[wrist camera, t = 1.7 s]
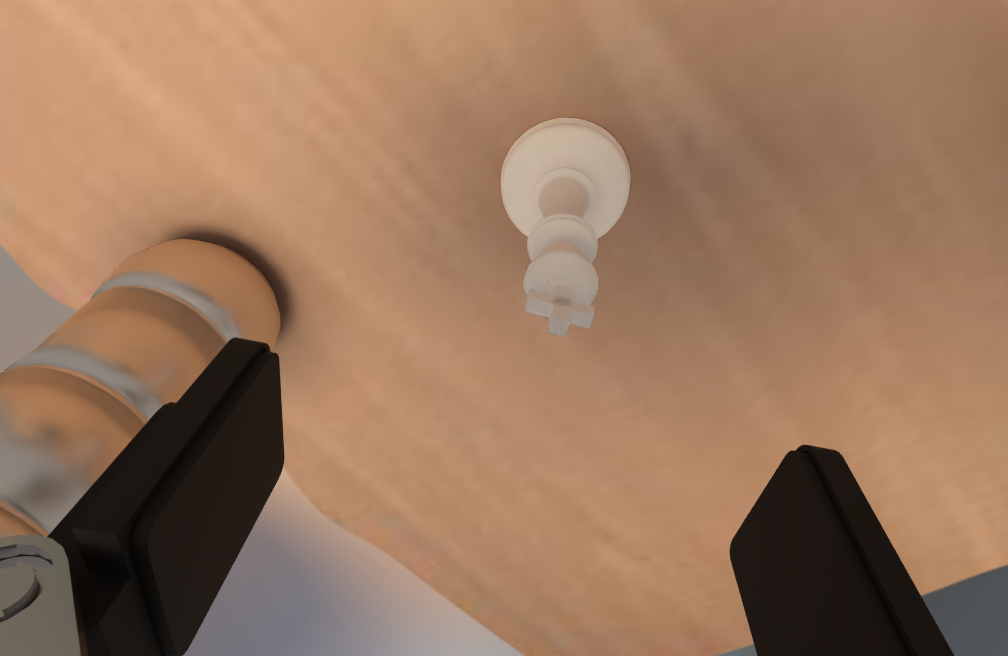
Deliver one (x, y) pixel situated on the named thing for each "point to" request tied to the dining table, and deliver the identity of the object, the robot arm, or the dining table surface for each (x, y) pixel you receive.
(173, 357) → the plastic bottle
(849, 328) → the dining table surface
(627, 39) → the dining table surface
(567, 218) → the chess piece
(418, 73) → the dining table surface
